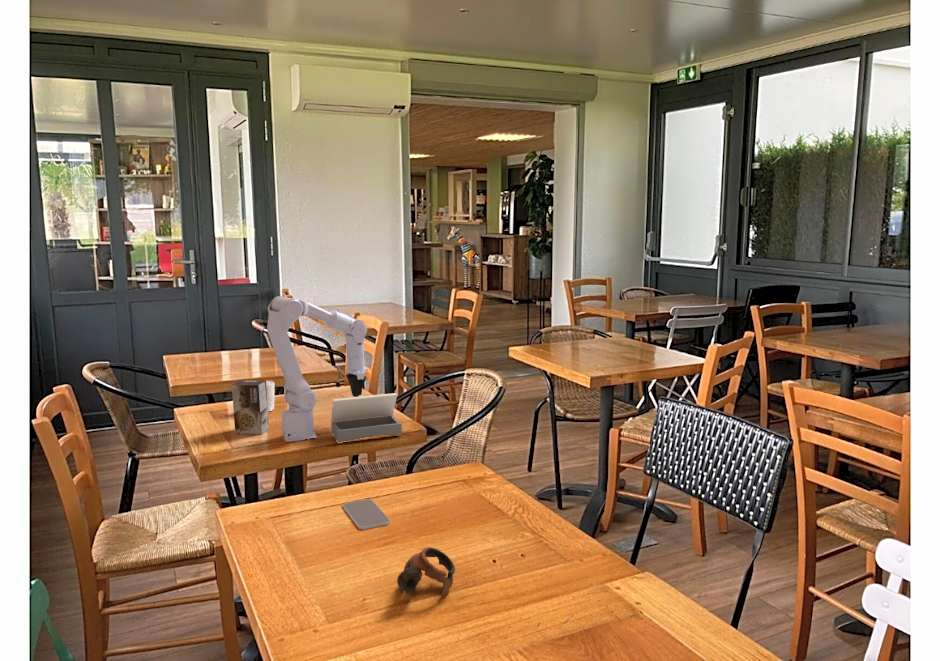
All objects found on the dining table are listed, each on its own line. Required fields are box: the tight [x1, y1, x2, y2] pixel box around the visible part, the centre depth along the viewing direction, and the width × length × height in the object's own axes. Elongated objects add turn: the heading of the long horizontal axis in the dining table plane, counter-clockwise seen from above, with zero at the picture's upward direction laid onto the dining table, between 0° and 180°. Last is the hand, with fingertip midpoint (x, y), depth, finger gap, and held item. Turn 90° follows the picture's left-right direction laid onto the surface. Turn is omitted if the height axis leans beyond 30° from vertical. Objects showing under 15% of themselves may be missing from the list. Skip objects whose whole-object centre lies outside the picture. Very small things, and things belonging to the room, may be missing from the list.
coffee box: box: [231, 379, 270, 435], centre depth 224 cm, size 9×6×16 cm
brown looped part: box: [396, 546, 456, 597], centre depth 129 cm, size 12×10×8 cm
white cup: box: [266, 380, 275, 412], centre depth 248 cm, size 8×8×10 cm
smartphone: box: [342, 498, 391, 531], centre depth 163 cm, size 7×1×15 cm
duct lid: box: [330, 392, 398, 423], centre depth 222 cm, size 20×10×1 cm
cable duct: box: [330, 414, 403, 442], centre depth 221 cm, size 20×10×4 cm, turn 112°
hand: (356, 396), depth 232 cm, fingers closed
